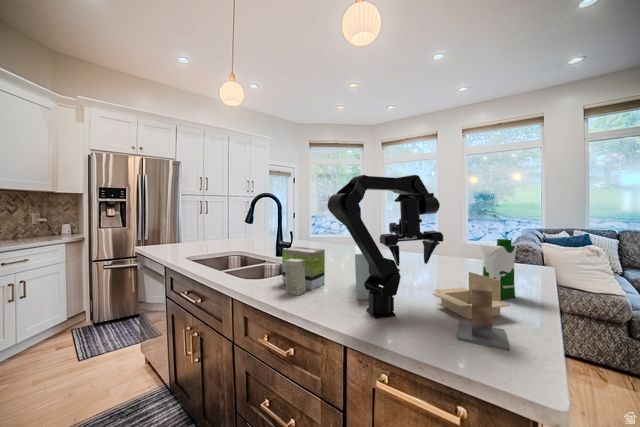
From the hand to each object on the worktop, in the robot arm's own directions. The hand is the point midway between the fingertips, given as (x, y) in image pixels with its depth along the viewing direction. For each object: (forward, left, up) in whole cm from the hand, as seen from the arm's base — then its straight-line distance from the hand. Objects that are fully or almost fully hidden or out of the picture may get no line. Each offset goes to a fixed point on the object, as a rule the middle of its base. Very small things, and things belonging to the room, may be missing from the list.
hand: (411, 264), depth 84 cm
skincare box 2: (-9, +19, -13) cm, 25 cm away
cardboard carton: (+13, -8, -13) cm, 20 cm away
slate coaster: (+4, -22, -13) cm, 26 cm away
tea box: (-29, +33, -13) cm, 46 cm away
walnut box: (+4, -22, -12) cm, 26 cm away
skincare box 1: (-34, +23, -13) cm, 43 cm away
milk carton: (+34, 0, -13) cm, 37 cm away
